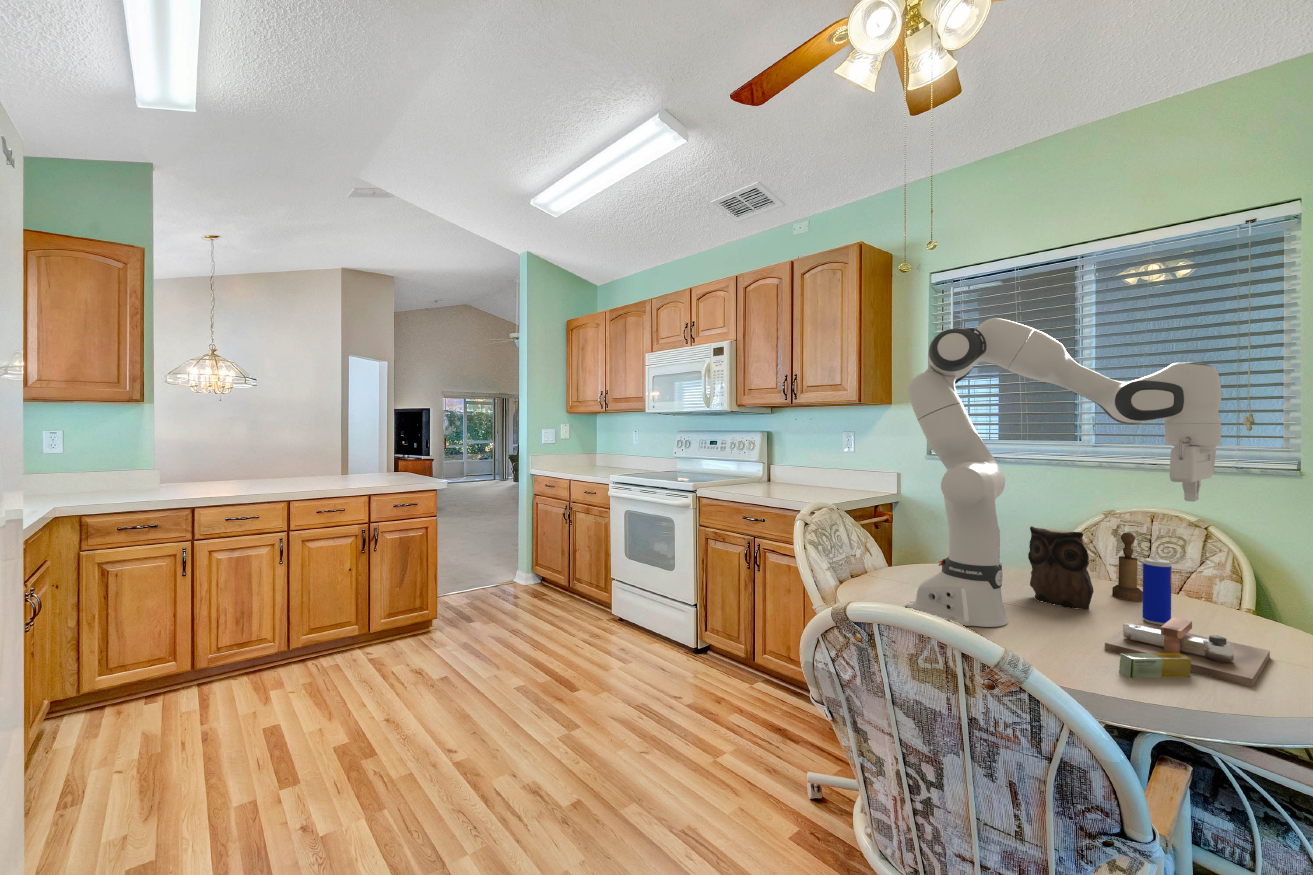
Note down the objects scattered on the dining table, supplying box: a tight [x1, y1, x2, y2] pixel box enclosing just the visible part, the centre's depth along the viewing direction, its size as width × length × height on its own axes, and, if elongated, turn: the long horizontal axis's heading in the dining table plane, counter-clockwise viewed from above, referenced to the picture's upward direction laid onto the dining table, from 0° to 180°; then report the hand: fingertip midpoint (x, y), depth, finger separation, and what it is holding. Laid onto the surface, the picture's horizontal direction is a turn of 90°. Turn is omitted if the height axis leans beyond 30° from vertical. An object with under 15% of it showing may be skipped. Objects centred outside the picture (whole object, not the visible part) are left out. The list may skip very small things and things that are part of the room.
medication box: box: [1118, 653, 1191, 679], centre depth 106 cm, size 12×3×4 cm, turn 92°
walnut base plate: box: [1104, 616, 1271, 688], centre depth 116 cm, size 22×22×7 cm
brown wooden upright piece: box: [1111, 532, 1143, 602], centre depth 154 cm, size 7×6×18 cm
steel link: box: [1122, 623, 1234, 661], centre depth 114 cm, size 17×4×2 cm, turn 38°
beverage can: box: [1141, 557, 1173, 626], centre depth 135 cm, size 5×5×15 cm
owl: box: [1027, 525, 1094, 611], centre depth 151 cm, size 13×13×20 cm
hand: (1191, 500), depth 121 cm, fingers closed
